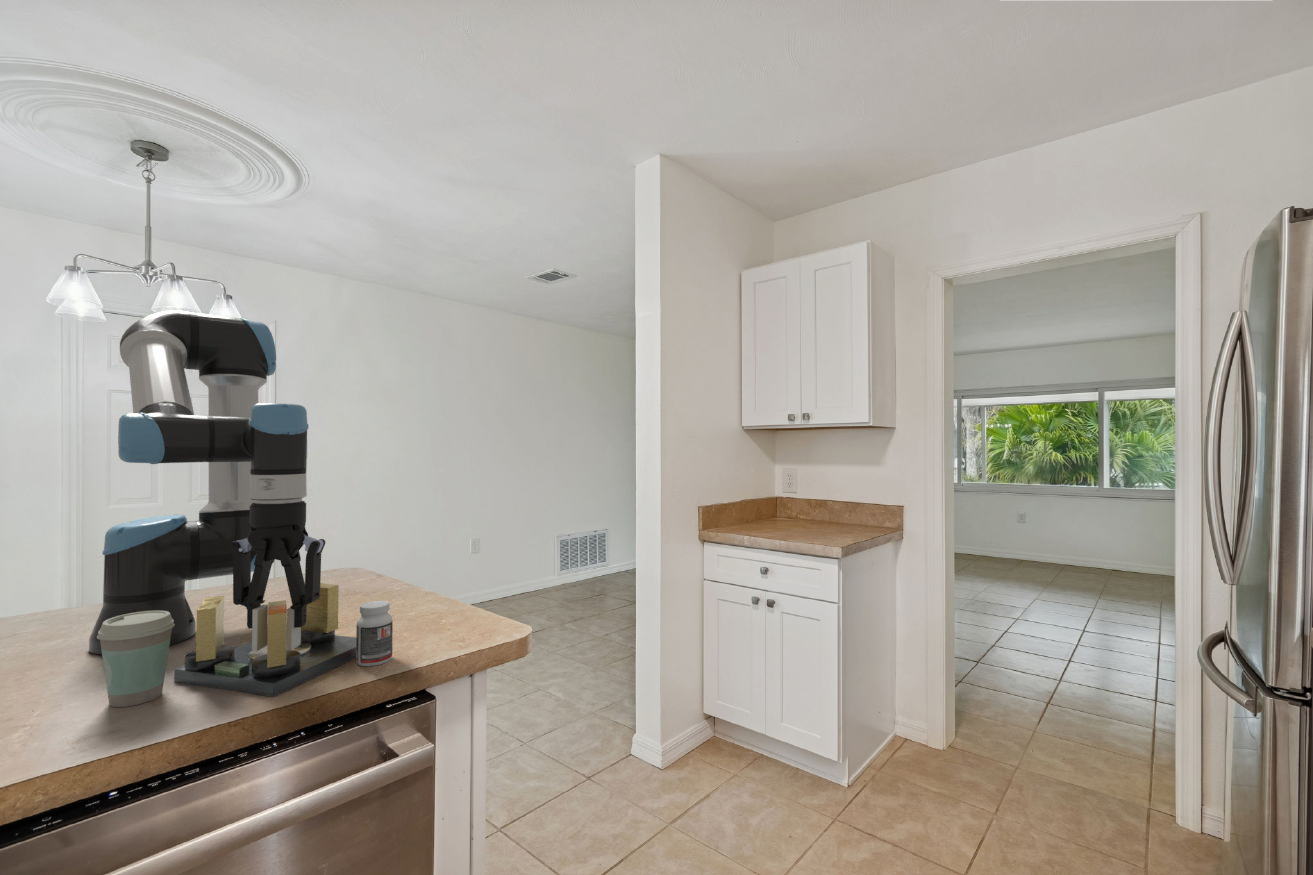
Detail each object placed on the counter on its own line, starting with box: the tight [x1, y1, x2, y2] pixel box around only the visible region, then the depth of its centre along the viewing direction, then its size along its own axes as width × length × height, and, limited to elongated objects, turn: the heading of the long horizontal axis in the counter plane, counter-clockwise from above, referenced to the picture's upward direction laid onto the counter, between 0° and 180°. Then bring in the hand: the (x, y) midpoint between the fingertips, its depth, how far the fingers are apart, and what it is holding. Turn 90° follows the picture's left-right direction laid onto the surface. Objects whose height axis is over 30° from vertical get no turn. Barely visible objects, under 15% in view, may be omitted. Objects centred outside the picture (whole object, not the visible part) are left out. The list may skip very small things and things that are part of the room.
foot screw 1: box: [184, 595, 235, 672], centre depth 93 cm, size 8×6×10 cm
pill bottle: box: [355, 600, 394, 667], centre depth 100 cm, size 6×6×10 cm
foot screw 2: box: [301, 581, 340, 645], centre depth 105 cm, size 8×6×10 cm
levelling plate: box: [173, 634, 356, 698], centre depth 98 cm, size 20×20×3 cm
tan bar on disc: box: [252, 600, 300, 679], centre depth 91 cm, size 8×6×11 cm
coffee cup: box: [97, 611, 175, 708], centre depth 85 cm, size 9×8×12 cm
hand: (276, 647), depth 91 cm, fingers closed on tan bar on disc, 4 cm apart
